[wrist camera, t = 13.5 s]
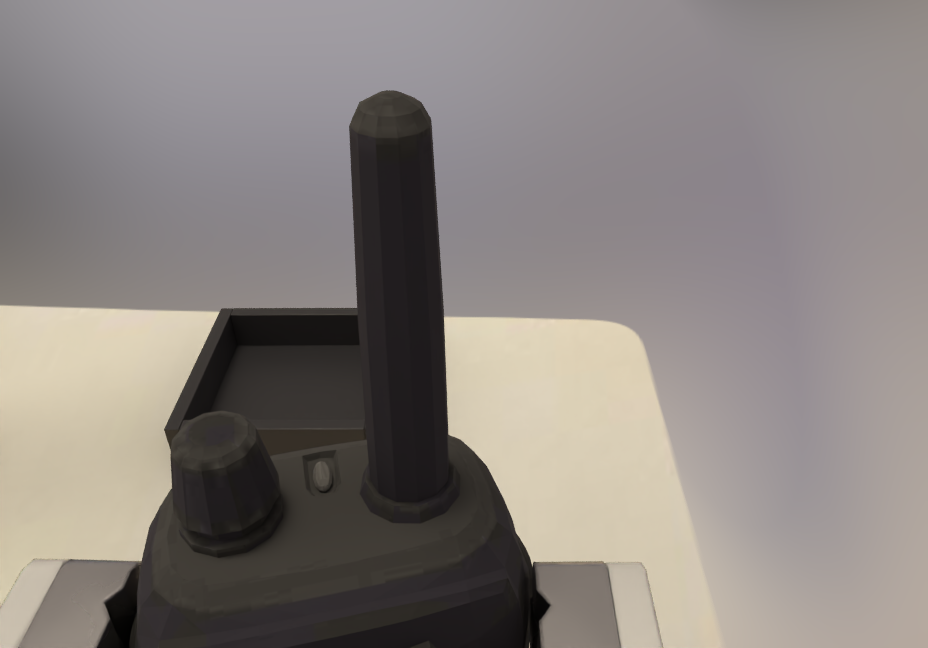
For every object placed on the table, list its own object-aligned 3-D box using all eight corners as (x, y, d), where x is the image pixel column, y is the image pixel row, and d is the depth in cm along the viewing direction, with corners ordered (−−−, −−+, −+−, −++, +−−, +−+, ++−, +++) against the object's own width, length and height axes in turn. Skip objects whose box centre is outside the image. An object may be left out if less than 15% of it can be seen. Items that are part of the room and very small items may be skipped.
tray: (399, 342, 52) (396, 307, 50) (383, 467, 43) (379, 429, 41) (229, 343, 52) (221, 308, 51) (175, 467, 43) (163, 429, 41)
